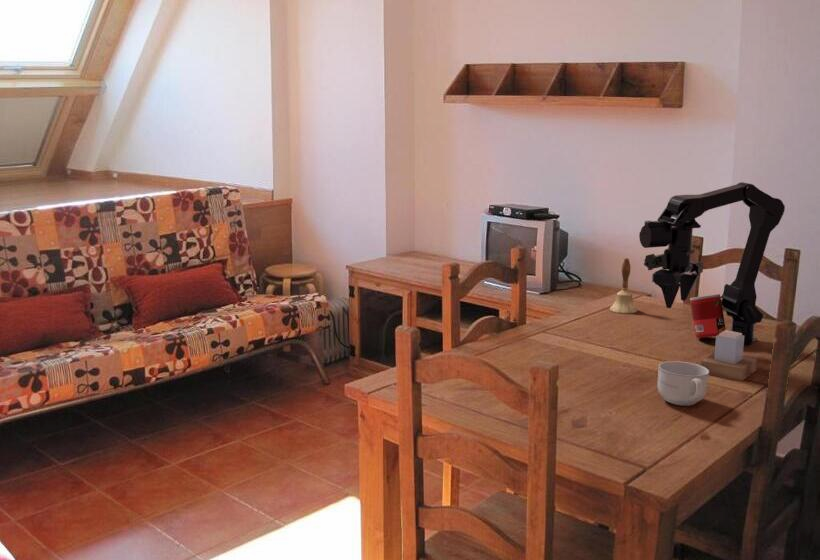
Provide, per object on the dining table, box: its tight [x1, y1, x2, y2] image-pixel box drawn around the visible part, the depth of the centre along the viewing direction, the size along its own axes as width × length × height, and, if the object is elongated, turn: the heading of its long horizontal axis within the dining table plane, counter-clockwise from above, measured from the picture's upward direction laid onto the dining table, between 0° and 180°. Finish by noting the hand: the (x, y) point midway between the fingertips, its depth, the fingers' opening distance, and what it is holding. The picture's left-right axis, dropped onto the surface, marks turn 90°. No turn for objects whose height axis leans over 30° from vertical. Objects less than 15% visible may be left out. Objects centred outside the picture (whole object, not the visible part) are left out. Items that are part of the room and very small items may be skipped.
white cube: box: [714, 329, 745, 364], centre depth 220 cm, size 5×5×7 cm
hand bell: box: [609, 258, 639, 315], centre depth 273 cm, size 8×8×16 cm
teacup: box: [656, 360, 710, 406], centre depth 200 cm, size 14×11×8 cm
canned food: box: [689, 293, 727, 339], centre depth 245 cm, size 8×8×11 cm
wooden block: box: [700, 351, 758, 382], centre depth 221 cm, size 10×10×4 cm
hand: (676, 304), depth 236 cm, fingers open, 9 cm apart
